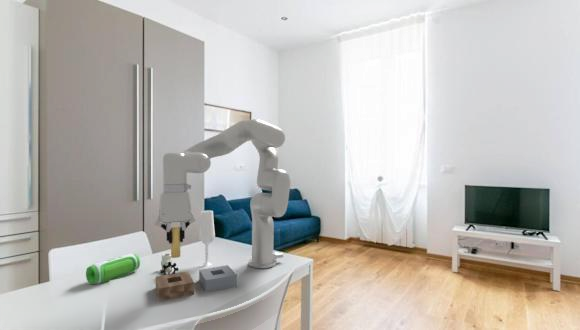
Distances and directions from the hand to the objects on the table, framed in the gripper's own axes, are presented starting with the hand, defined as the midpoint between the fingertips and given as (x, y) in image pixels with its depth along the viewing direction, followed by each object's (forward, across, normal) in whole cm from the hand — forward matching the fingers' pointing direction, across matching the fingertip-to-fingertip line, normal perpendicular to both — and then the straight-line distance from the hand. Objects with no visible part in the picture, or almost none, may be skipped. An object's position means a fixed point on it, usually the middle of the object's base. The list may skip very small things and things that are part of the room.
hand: (175, 241), depth 106 cm
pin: (+5, 0, 0) cm, 5 cm away
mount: (+18, 0, 0) cm, 18 cm away
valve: (+19, 0, -20) cm, 27 cm away
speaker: (+18, +19, -25) cm, 37 cm away
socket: (+18, -14, 0) cm, 23 cm away
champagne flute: (+19, -16, -21) cm, 32 cm away
